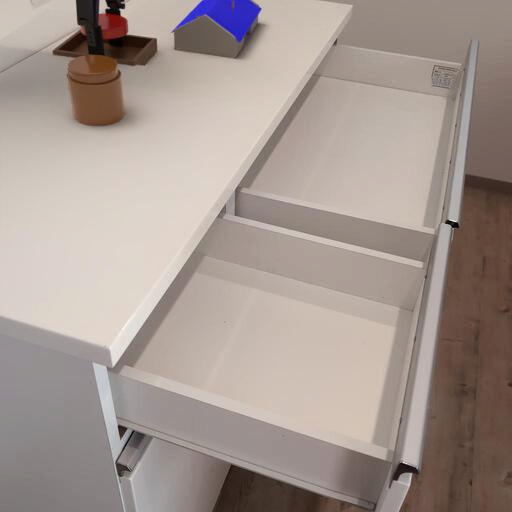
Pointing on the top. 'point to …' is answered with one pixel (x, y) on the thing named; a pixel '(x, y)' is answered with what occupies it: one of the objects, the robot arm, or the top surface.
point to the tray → (112, 49)
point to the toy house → (217, 27)
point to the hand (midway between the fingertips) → (107, 53)
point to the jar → (95, 90)
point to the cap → (111, 26)
